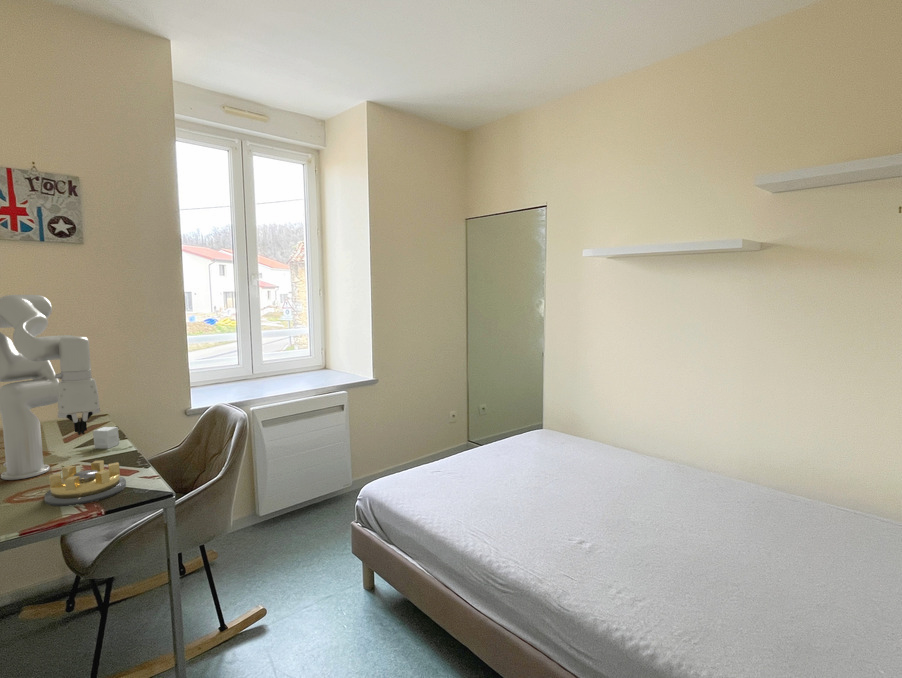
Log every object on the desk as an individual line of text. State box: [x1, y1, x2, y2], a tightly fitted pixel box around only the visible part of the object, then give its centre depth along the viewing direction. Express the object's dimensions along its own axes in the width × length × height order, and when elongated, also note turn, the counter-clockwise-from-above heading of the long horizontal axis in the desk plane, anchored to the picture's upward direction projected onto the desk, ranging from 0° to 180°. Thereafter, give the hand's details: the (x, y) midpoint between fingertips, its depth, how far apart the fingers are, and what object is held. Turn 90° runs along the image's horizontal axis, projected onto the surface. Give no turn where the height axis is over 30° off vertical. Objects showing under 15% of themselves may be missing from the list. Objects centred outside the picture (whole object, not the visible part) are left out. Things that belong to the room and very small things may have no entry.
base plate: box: [44, 476, 127, 507], centre depth 150 cm, size 20×20×2 cm
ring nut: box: [48, 459, 121, 498], centre depth 150 cm, size 17×17×6 cm
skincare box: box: [92, 426, 120, 449], centre depth 197 cm, size 6×6×7 cm
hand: (81, 433), depth 154 cm, fingers closed
